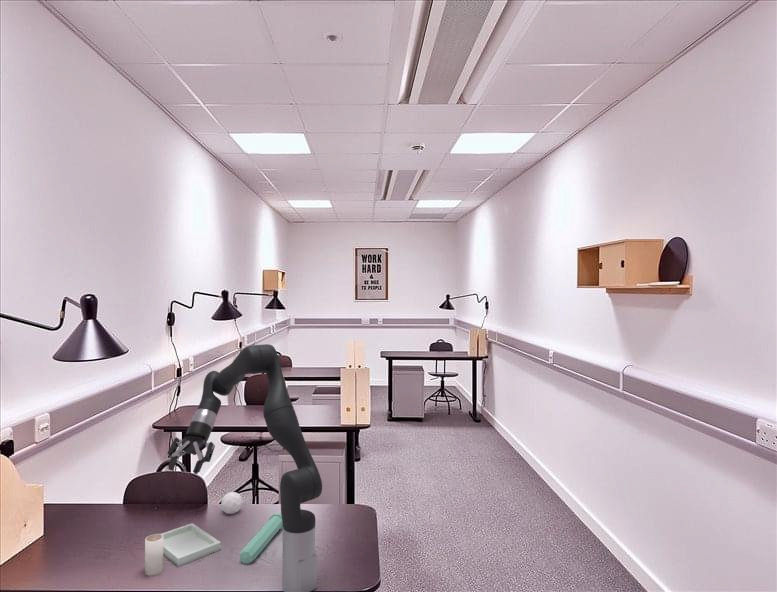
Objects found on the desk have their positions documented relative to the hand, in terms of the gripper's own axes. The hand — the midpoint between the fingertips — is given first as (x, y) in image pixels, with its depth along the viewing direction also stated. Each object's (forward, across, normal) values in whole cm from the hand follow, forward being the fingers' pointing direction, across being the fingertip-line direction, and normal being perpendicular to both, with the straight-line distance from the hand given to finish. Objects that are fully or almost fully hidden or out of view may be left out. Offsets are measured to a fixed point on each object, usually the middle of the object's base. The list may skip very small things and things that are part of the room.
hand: (182, 471), depth 160 cm
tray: (+18, +2, +18) cm, 26 cm away
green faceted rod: (+14, +26, +21) cm, 36 cm away
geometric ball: (+1, +5, +39) cm, 39 cm away
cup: (+28, 0, +7) cm, 29 cm away
